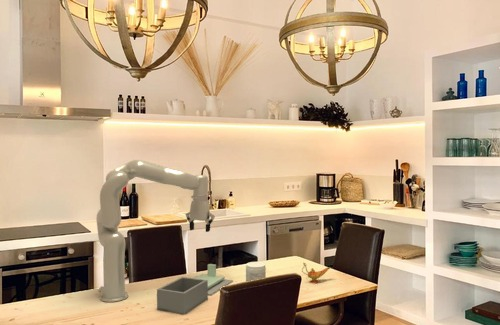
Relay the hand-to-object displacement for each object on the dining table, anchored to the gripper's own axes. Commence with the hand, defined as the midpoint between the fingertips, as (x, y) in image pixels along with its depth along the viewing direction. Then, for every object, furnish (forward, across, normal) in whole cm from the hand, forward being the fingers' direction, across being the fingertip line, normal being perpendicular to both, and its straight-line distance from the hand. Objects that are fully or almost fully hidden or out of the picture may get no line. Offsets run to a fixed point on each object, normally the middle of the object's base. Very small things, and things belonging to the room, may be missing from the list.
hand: (199, 230), depth 221 cm
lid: (+26, +5, -4) cm, 26 cm away
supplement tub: (+27, +35, -6) cm, 45 cm away
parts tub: (+28, +11, -31) cm, 43 cm away
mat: (+27, +5, -4) cm, 28 cm away
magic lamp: (+26, +57, +25) cm, 68 cm away
